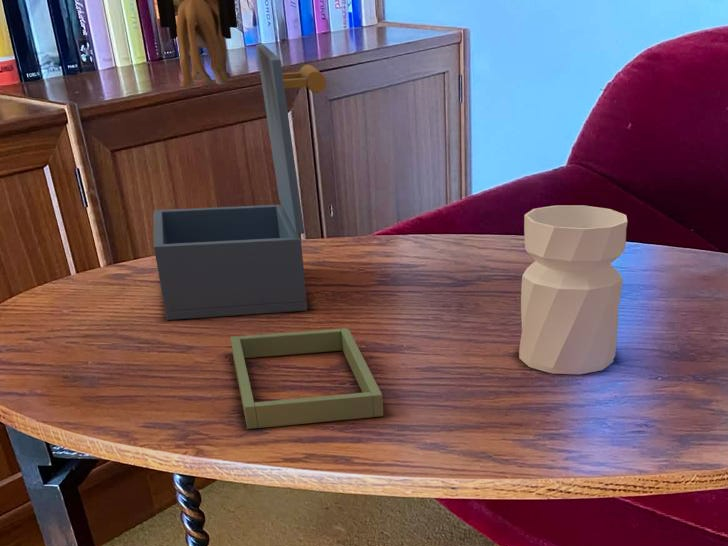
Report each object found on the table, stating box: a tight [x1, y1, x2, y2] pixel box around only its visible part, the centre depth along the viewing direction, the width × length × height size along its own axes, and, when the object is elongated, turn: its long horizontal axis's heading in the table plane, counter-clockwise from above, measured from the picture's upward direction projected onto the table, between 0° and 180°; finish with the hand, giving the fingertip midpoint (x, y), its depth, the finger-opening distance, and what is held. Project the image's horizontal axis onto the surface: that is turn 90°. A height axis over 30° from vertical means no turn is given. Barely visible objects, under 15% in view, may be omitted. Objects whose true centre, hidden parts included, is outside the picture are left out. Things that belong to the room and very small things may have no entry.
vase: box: [518, 205, 628, 376], centre depth 84 cm, size 9×9×12 cm
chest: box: [153, 204, 308, 321], centre depth 100 cm, size 14×16×7 cm
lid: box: [255, 43, 327, 235], centre depth 95 cm, size 15×16×5 cm
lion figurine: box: [173, 0, 231, 89], centre depth 88 cm, size 15×5×9 cm, turn 17°
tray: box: [229, 327, 384, 430], centre depth 81 cm, size 11×17×2 cm, turn 15°
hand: (200, 35), depth 87 cm, fingers closed on lion figurine, 4 cm apart
